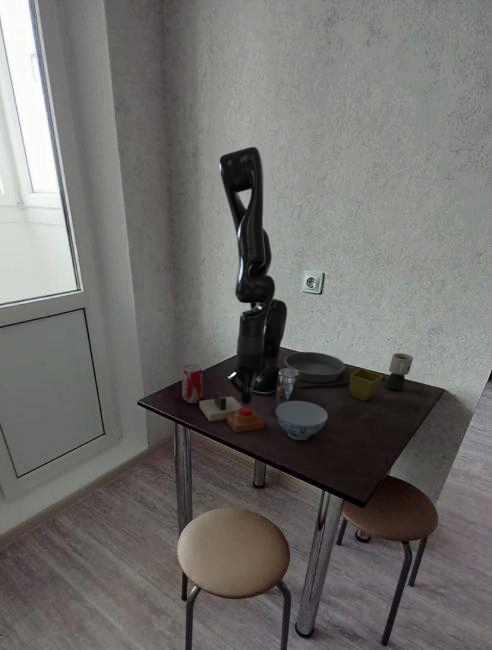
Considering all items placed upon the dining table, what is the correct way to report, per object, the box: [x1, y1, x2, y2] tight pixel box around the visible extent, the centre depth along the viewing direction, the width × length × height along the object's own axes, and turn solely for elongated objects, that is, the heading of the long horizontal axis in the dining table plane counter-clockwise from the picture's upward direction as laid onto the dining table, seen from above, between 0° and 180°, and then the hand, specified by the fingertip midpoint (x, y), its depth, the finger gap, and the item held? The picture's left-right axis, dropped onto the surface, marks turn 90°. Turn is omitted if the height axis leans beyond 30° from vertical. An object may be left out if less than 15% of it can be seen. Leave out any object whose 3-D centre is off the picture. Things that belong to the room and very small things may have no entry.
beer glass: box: [273, 367, 300, 417], centre depth 130 cm, size 7×7×15 cm
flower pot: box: [348, 368, 384, 402], centre depth 145 cm, size 9×9×9 cm
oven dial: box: [214, 391, 226, 411], centre depth 130 cm, size 6×2×4 cm, turn 22°
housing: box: [225, 409, 266, 433], centre depth 126 cm, size 10×8×4 cm
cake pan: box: [283, 351, 346, 384], centre depth 165 cm, size 25×25×4 cm
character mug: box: [385, 352, 414, 391], centre depth 152 cm, size 11×7×13 cm, turn 165°
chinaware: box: [276, 400, 328, 441], centre depth 121 cm, size 15×15×8 cm
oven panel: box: [199, 396, 243, 422], centre depth 133 cm, size 12×11×3 cm
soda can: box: [181, 364, 204, 404], centre depth 137 cm, size 7×7×12 cm
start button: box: [240, 405, 253, 416], centre depth 125 cm, size 4×4×2 cm
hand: (245, 403), depth 124 cm, fingers closed
